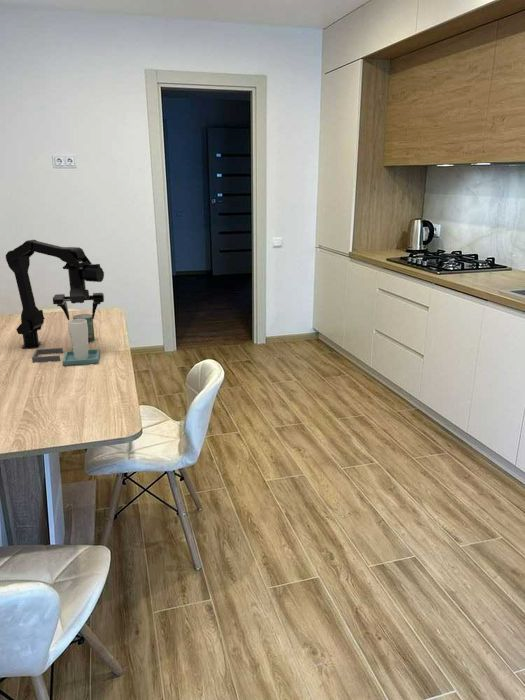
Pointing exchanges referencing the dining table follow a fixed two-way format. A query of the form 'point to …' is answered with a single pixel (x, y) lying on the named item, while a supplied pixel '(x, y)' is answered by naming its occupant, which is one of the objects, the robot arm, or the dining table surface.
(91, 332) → the canned tomato
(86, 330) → the drinking glass
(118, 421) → the dining table surface
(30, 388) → the dining table surface
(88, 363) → the tray
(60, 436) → the dining table surface
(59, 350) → the dock
